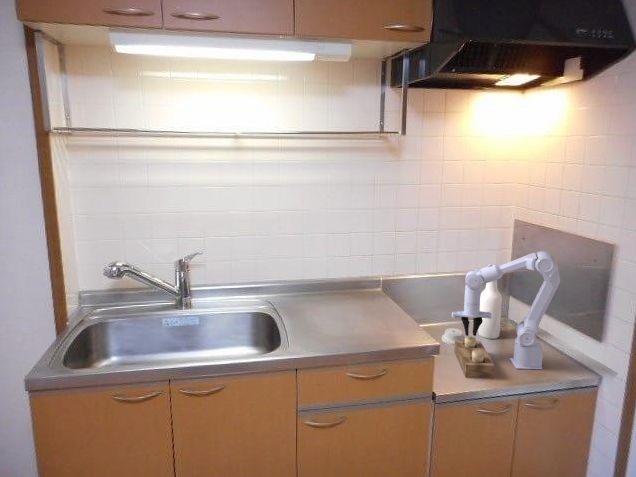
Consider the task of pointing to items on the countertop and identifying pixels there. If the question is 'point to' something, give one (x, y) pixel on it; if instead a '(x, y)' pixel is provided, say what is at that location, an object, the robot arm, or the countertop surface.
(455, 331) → the mechanical component
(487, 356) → the collar bar
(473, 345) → the peg
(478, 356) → the peg
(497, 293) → the white milk bottle
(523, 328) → the robot arm
